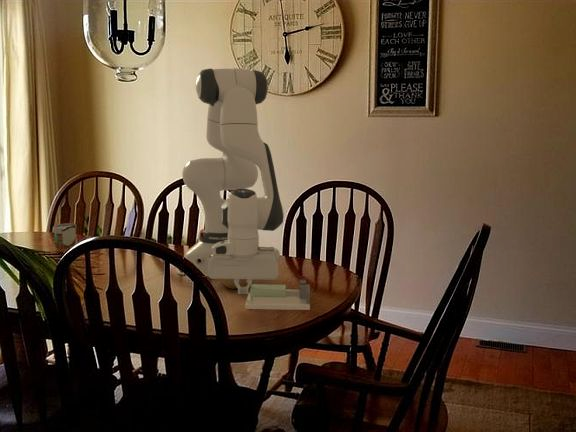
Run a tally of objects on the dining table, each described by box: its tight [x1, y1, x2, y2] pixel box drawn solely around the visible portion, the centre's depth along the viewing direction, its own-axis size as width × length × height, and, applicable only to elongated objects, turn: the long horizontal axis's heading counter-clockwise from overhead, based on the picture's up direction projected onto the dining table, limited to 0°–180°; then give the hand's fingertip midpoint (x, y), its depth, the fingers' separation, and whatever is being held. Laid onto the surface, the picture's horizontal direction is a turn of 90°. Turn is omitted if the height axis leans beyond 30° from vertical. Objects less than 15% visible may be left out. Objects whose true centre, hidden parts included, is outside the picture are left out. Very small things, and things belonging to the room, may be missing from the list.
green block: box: [249, 283, 287, 301], centre depth 176 cm, size 10×5×4 cm, turn 89°
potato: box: [217, 279, 255, 289], centre depth 190 cm, size 10×14×8 cm
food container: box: [52, 222, 77, 249], centre depth 239 cm, size 12×6×10 cm, turn 172°
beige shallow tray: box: [245, 279, 311, 311], centre depth 175 cm, size 18×12×6 cm, turn 89°
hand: (243, 293), depth 175 cm, fingers closed
